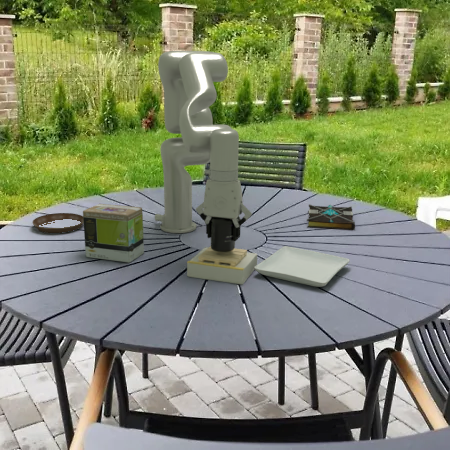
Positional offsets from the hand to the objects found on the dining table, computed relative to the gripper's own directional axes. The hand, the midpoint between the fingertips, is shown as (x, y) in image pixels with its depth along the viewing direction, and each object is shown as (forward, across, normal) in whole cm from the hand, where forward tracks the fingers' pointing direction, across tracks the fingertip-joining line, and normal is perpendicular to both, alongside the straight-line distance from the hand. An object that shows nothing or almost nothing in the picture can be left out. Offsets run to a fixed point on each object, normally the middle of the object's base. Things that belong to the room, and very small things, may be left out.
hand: (223, 237), depth 160 cm
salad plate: (+11, +22, +7) cm, 25 cm away
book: (+11, +20, +62) cm, 66 cm away
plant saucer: (+11, -67, +19) cm, 70 cm away
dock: (+10, 0, 0) cm, 10 cm away
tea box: (+10, -35, +1) cm, 36 cm away
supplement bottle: (+3, 0, 0) cm, 3 cm away
